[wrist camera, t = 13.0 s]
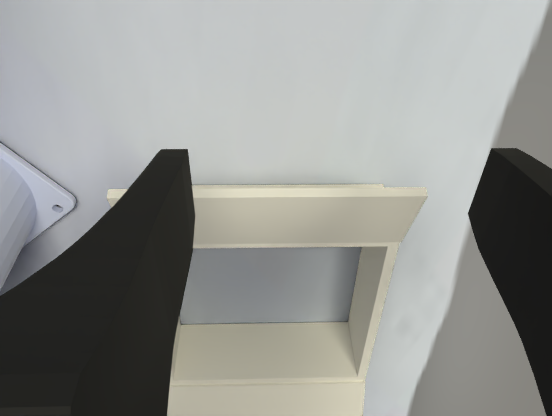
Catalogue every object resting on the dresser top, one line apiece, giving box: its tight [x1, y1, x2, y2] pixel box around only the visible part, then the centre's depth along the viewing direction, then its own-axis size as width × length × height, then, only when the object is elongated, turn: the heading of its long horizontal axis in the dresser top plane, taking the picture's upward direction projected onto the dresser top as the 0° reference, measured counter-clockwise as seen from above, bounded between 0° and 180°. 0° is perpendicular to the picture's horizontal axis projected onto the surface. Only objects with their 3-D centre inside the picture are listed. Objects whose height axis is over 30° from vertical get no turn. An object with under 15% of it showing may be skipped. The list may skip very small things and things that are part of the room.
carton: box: [107, 184, 428, 416], centre depth 27 cm, size 20×12×6 cm, turn 179°
